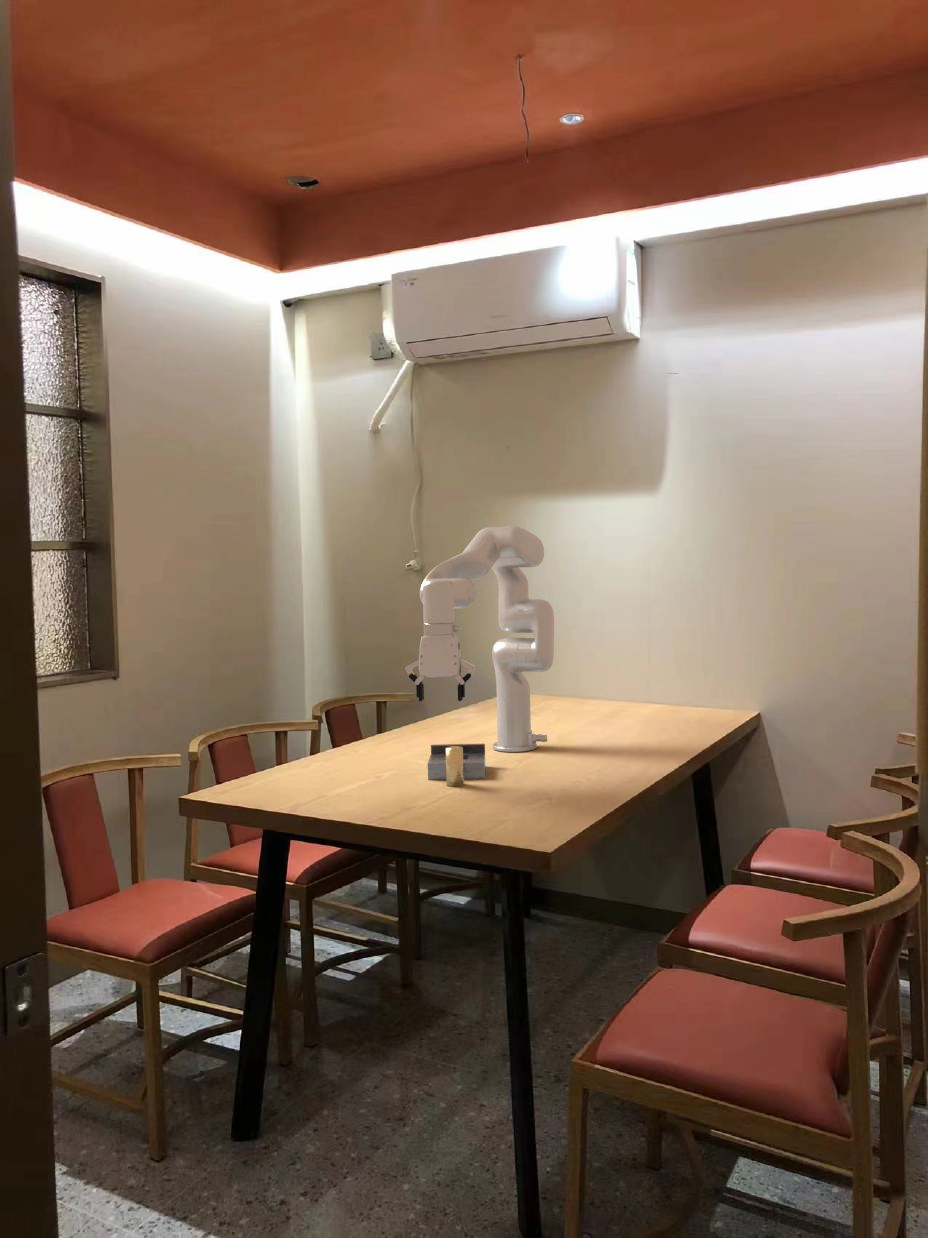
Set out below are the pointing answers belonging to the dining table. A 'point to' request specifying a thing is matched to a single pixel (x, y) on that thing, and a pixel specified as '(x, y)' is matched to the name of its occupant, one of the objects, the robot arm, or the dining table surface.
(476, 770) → the jig
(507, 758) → the dining table surface
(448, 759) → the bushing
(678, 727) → the dining table surface
